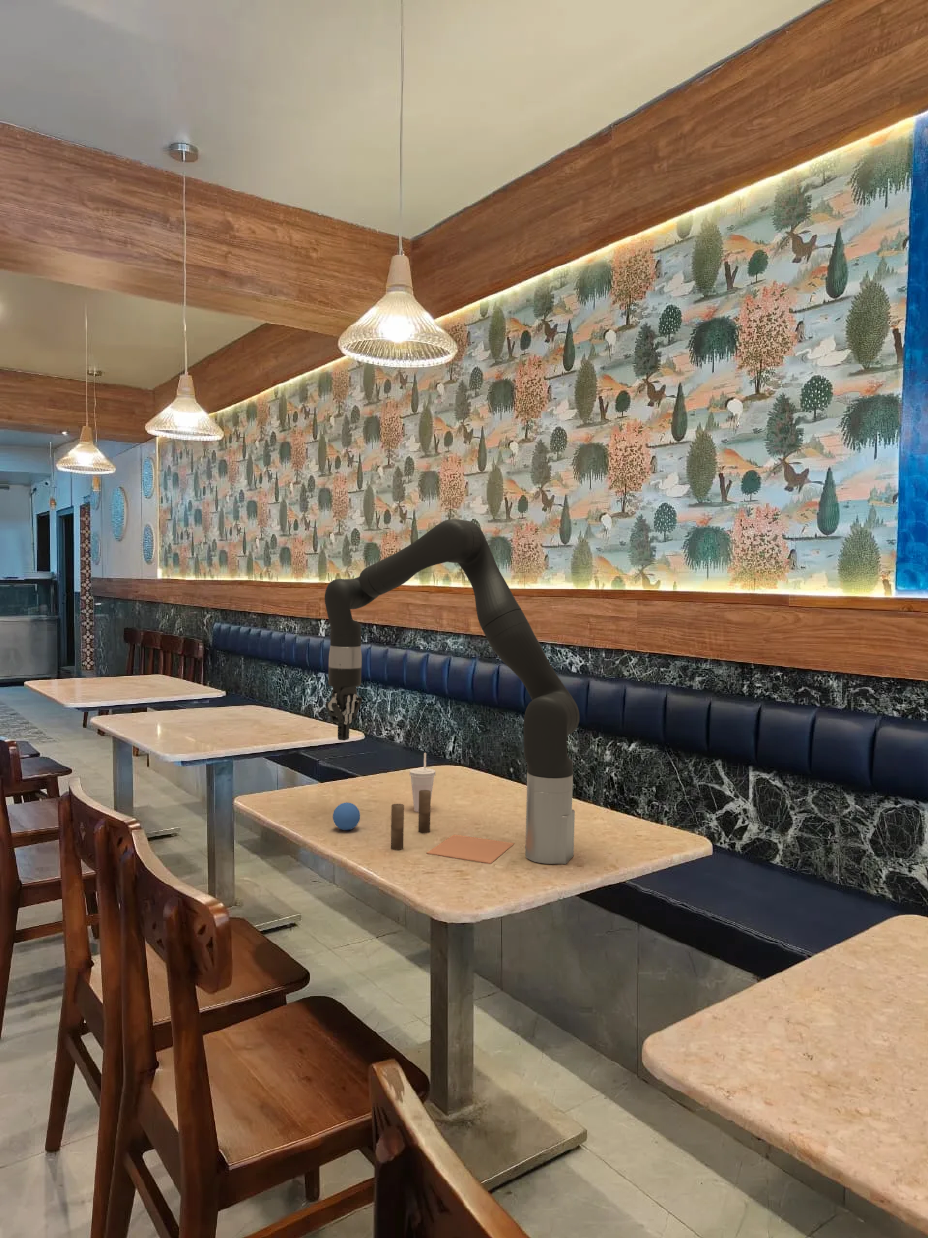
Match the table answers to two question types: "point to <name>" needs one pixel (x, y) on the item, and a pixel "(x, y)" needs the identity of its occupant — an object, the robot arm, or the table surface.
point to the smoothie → (421, 782)
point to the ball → (346, 816)
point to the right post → (424, 811)
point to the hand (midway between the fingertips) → (343, 739)
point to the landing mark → (471, 848)
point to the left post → (397, 826)
